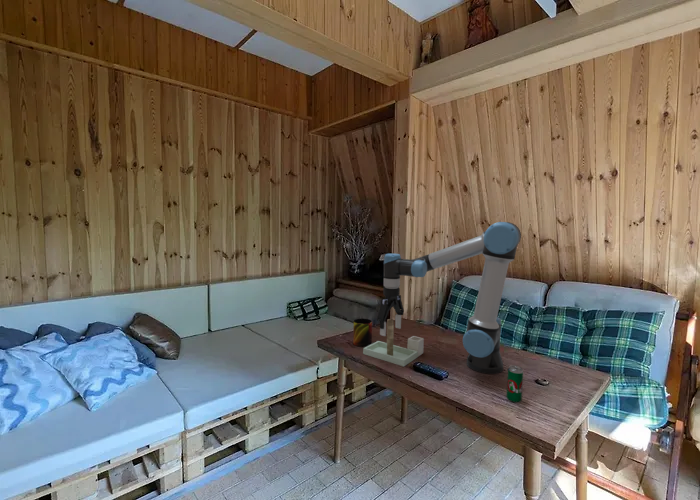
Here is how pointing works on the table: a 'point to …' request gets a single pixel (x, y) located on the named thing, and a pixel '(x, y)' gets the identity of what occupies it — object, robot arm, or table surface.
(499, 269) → the robot arm
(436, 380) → the table surface
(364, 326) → the mug
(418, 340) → the cup
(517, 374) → the soda can
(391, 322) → the dowel
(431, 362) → the table surface
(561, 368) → the table surface
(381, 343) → the tray
